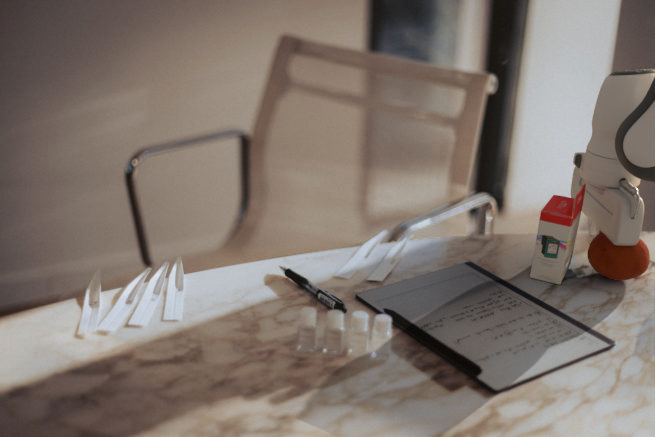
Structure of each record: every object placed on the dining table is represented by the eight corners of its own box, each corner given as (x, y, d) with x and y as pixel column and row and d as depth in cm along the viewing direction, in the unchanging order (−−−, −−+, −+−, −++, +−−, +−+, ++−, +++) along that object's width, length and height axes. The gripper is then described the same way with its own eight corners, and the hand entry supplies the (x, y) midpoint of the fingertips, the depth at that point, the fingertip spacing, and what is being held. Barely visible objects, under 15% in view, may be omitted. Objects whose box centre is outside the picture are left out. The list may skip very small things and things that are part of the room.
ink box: (541, 258, 106) (555, 176, 100) (571, 265, 104) (588, 182, 98) (528, 278, 99) (543, 191, 94) (560, 286, 97) (577, 198, 91)
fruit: (572, 267, 103) (581, 223, 100) (615, 260, 106) (625, 217, 103) (610, 293, 95) (621, 246, 92) (655, 285, 98) (668, 239, 95)
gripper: (663, 193, 91) (641, 276, 96) (606, 151, 110) (591, 223, 115) (619, 191, 91) (601, 275, 96) (570, 150, 110) (557, 222, 115)
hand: (595, 246), depth 106 cm, fingers closed
